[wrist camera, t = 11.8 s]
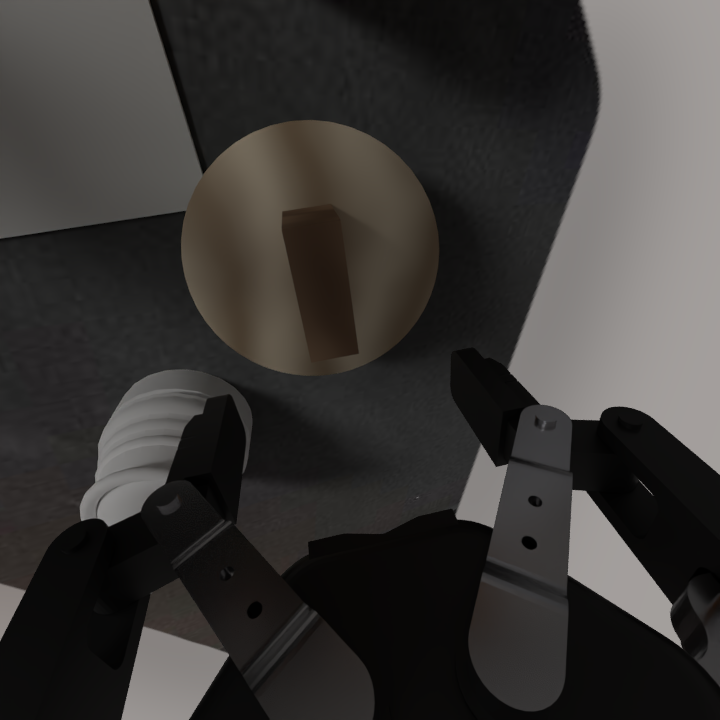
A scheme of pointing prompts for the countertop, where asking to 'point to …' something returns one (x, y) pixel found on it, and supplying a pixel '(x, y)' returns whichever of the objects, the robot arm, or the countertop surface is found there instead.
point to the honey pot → (150, 439)
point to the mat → (88, 117)
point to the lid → (310, 247)
